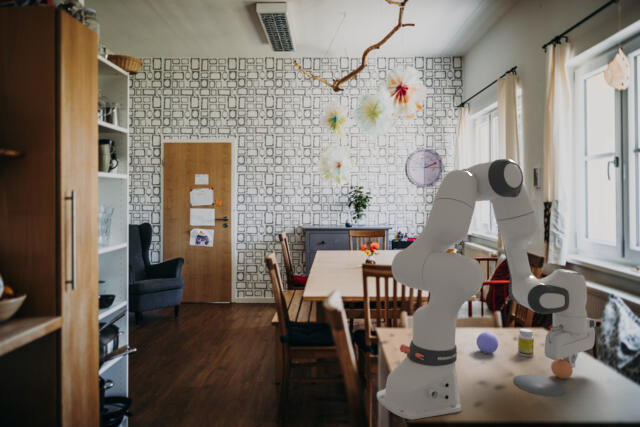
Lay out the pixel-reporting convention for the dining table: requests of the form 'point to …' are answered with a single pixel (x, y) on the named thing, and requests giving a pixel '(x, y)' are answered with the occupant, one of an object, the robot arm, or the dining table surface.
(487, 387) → the dining table surface
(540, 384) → the slate disc
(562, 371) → the ball
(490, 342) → the sphere
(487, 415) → the dining table surface
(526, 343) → the supplement bottle
